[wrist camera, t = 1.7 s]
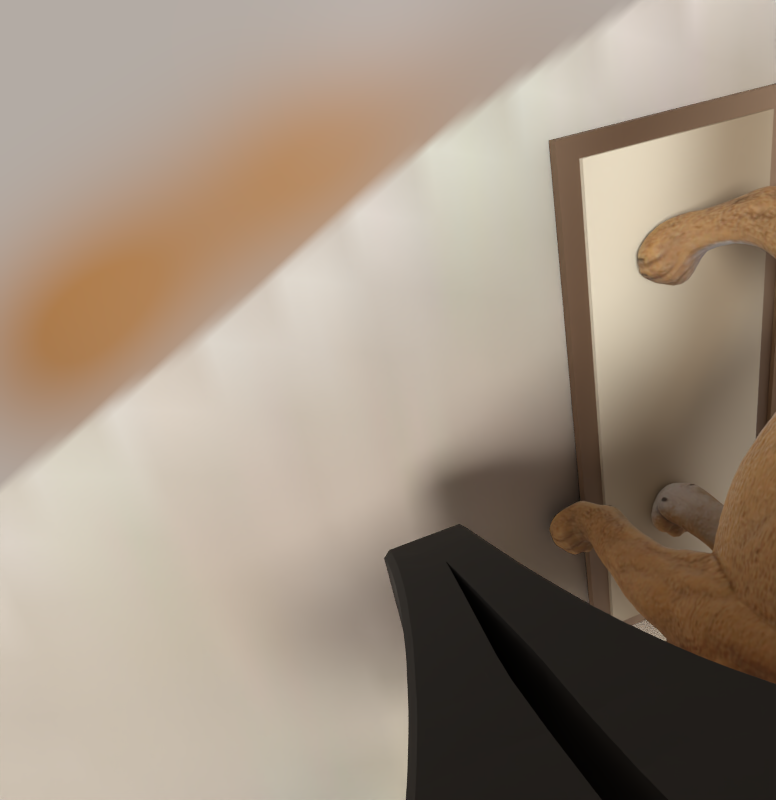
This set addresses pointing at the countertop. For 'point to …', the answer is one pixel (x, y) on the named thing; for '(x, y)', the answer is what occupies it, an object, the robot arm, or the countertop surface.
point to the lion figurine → (700, 494)
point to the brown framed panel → (663, 312)
